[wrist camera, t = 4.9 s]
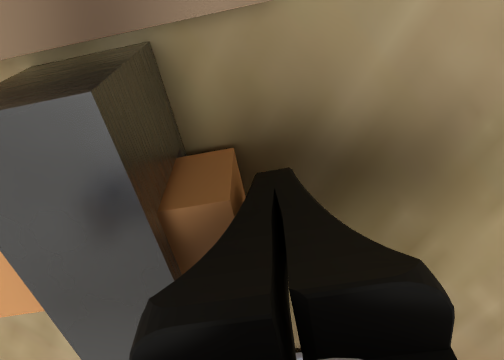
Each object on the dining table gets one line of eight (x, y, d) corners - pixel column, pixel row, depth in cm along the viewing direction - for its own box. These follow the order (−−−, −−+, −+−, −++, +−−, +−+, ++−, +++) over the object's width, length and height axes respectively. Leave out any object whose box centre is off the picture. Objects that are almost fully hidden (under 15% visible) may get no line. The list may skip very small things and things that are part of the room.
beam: (229, 284, 17) (223, 392, 13) (147, 296, 17) (115, 404, 13) (149, 41, 11) (90, 91, 7) (29, 67, 12) (-92, 129, 8)
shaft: (233, 147, 13) (229, 200, 10) (251, 219, 14) (252, 280, 12) (-169, 219, 14) (-269, 282, 11) (-111, 277, 16) (-186, 344, 13)
